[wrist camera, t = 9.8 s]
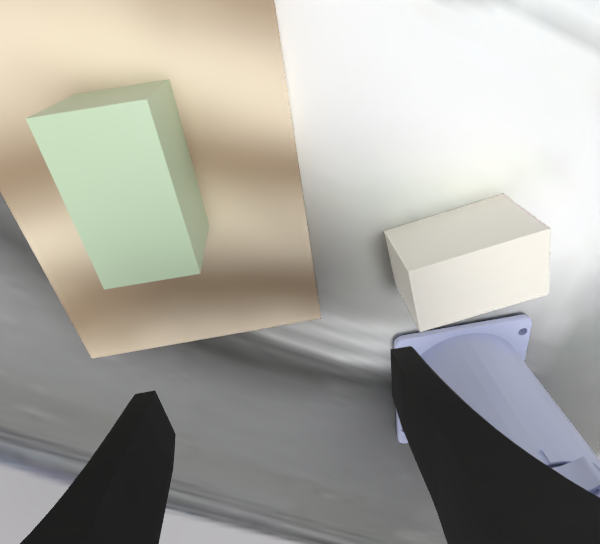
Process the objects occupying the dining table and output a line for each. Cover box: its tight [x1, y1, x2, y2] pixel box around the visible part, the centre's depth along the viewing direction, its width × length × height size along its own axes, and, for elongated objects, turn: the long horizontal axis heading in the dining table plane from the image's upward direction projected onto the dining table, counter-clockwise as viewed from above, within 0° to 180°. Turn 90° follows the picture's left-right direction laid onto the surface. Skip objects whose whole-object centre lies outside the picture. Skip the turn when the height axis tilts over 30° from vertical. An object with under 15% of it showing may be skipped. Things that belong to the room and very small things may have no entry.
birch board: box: [0, 0, 321, 358], centre depth 18 cm, size 18×12×1 cm, turn 8°
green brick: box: [26, 79, 209, 290], centre depth 16 cm, size 6×4×4 cm, turn 8°
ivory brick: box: [384, 194, 551, 332], centre depth 20 cm, size 6×4×4 cm, turn 107°
